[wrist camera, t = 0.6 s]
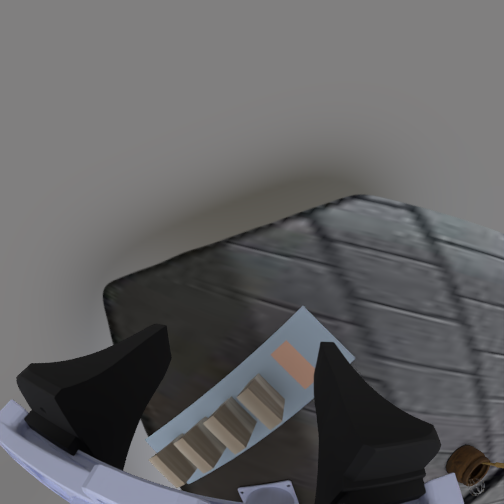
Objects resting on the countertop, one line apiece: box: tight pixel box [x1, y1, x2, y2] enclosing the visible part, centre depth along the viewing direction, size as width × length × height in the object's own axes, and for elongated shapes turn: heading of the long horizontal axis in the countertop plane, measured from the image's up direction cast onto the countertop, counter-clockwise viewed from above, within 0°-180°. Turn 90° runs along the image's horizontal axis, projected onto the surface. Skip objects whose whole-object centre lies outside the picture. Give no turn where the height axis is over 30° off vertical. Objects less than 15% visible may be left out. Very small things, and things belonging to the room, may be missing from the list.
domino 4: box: [236, 373, 285, 430], centre depth 28 cm, size 2×5×9 cm, turn 44°
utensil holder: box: [446, 445, 504, 496], centre depth 17 cm, size 6×6×12 cm
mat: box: [145, 306, 355, 484], centre depth 32 cm, size 32×10×1 cm, turn 133°
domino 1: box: [149, 433, 197, 488], centre depth 27 cm, size 2×5×9 cm, turn 43°
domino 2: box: [174, 416, 226, 474], centre depth 27 cm, size 2×5×9 cm, turn 43°
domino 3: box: [203, 396, 257, 455], centre depth 27 cm, size 2×5×9 cm, turn 43°
